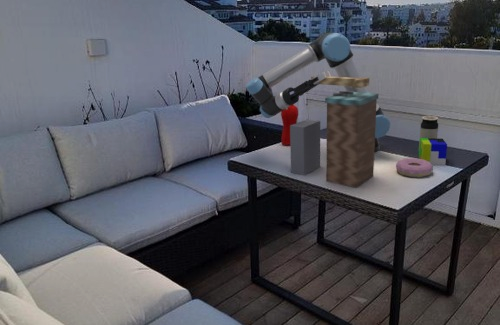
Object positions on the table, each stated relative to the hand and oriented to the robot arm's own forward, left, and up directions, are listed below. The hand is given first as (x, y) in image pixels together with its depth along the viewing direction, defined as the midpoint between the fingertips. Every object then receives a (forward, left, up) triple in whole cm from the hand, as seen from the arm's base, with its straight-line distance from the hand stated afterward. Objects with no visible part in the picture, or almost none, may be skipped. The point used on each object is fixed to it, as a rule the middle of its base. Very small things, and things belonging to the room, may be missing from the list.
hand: (326, 73), depth 183 cm
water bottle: (+11, -51, -45) cm, 69 cm away
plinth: (+8, -7, -44) cm, 46 cm away
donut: (-38, +3, -45) cm, 59 cm away
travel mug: (-54, -23, -45) cm, 74 cm away
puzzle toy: (-51, -10, -45) cm, 68 cm away
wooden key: (-4, +3, -4) cm, 7 cm away
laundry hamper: (-9, +7, -44) cm, 46 cm away
